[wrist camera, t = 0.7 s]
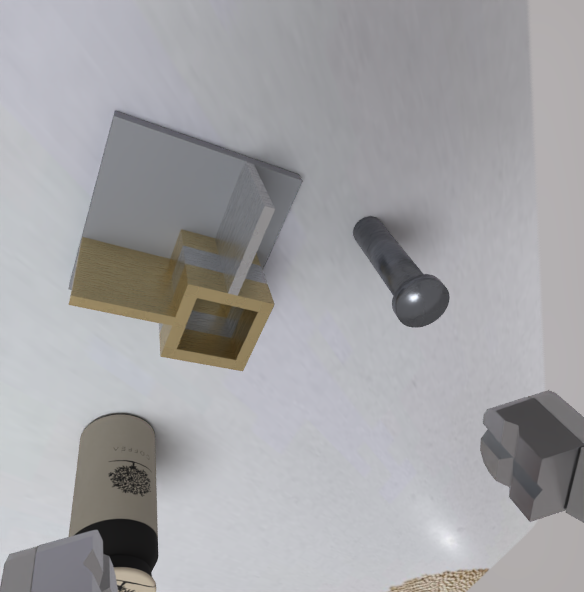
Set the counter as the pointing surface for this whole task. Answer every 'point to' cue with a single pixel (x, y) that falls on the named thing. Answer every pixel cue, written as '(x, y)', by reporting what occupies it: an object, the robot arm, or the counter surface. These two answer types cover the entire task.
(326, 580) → the counter surface
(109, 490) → the travel mug
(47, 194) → the counter surface
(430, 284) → the hinge pin
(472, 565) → the counter surface
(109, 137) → the mounting board
